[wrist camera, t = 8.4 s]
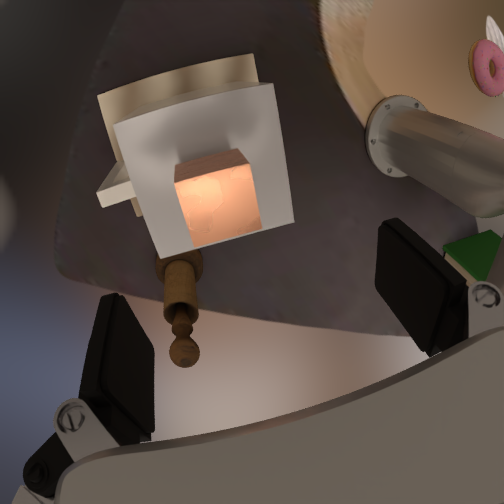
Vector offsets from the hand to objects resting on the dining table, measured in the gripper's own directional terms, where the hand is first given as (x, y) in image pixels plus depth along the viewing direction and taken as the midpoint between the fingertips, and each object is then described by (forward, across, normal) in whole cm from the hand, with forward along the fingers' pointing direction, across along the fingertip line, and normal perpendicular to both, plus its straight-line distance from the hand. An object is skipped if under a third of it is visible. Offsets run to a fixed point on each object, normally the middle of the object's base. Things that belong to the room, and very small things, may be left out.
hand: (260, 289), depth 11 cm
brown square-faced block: (+26, +1, 0) cm, 26 cm away
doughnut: (+30, -49, -7) cm, 58 cm away
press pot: (+28, +3, 0) cm, 28 cm away
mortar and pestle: (+29, +8, +16) cm, 34 cm away
